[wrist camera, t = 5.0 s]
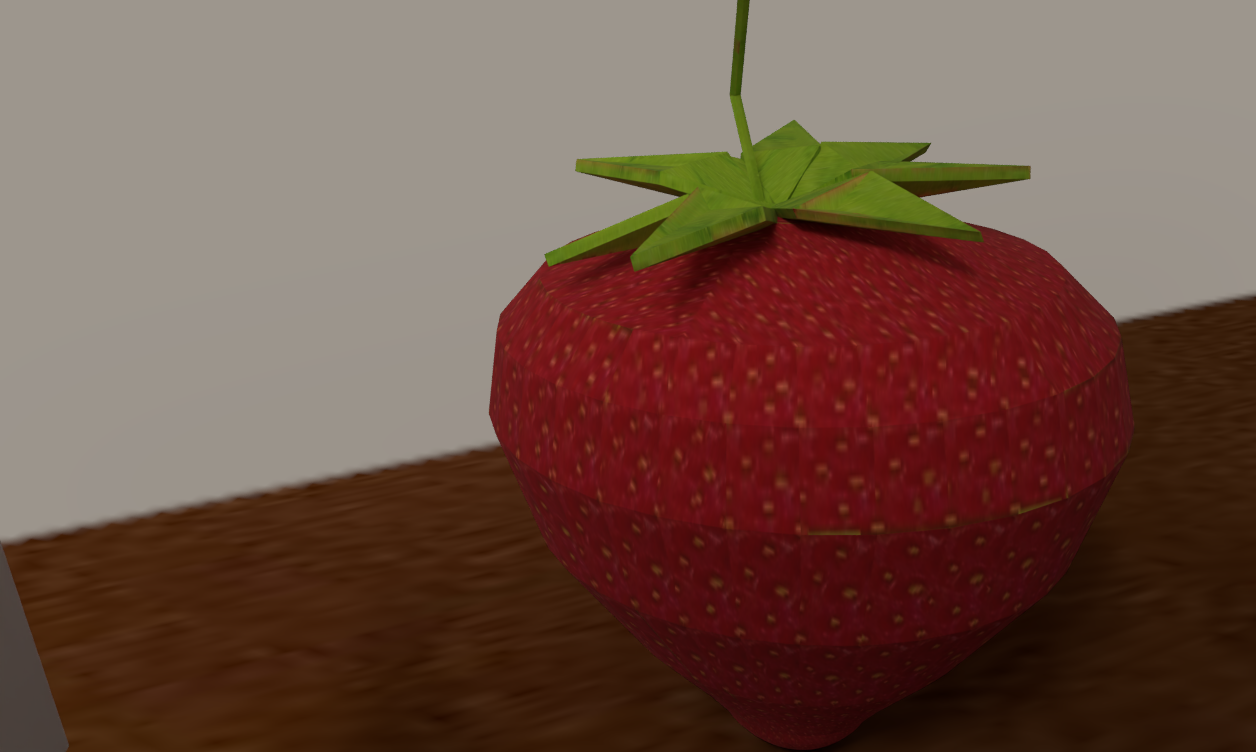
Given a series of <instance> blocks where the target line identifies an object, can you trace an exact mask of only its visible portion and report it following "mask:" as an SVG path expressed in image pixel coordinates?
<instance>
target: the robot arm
mask: <svg viewBox="0 0 1256 752" xmlns="http://www.w3.org/2000/svg"><path fill="white" fill-rule="evenodd" d="M68 746H69V745H68V742H67V739H66V736H65V733H64V730H63V727H62V724H61V721H60V718H59V715H58V712H57V709H56V706H55V703H54V700H53V697H52V694H51V691H50V688H49V685H48V682H47V679H46V676H45V673H44V670H43V667H42V664H41V661H40V658H39V655H38V652H37V649H36V646H35V643H34V640H33V637H32V634H31V631H30V628H29V625H28V622H27V620H26V617H25V614H24V611H23V608H22V605H21V602H20V599H19V596H18V593H17V590H16V587H15V584H14V581H13V578H12V575H11V572H10V569H9V566H8V563H7V560H6V557H5V554H4V551H3V548H2V545H1V542H0V752H65V751H66V750H67V748H68Z"/></svg>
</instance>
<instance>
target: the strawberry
mask: <svg viewBox="0 0 1256 752" xmlns="http://www.w3.org/2000/svg"><path fill="white" fill-rule="evenodd" d="M749 1H750V0H738V1H737V13H736V25H735V38H734V50H733V63H732V75H731V87H730V99H731V103H732V107H733V112H734V116H735V121H736V125H737V128H738V134H739V138H740V142H741V147H742V151H743V152H742V153H741V159H739V158H735V157H731V156H730V155H729V153H728V152H714V153H713V152H711V153H692V154H673V155H672V154H671V155H653V156H652V155H651V156H633V157H632V156H631V157H611V158H591V159H577V161H576V170H575V171H577V172H581V173H585V174H589V175H593V176H597V177H601V178H605V179H609V180H613V181H617V182H622V183H626V184H630V185H634V186H638V187H642V188H646V189H650V190H655V191H658V192H662V193H666V194H671V195H674V196H678V197H679V198H677V199H674V200H672V201H670V202H667V203H665V204H663V205H660V206H658V207H655V208H653V209H650V210H648V211H646V212H643V213H641V214H639V215H636V216H634V217H632V218H629V219H627V220H625V221H622V222H620V223H618V224H615V225H613V226H610V227H608V228H605V229H603V230H601V231H597V232H594V233H592V234H589V235H587V236H584V237H582V238H579V239H577V240H574V241H572V242H570V243H568V244H567V245H565V246H563V247H561V248H558V249H556V250H553V251H551V252H549V253H546V254H545V258H546V261H545V262H544V263H543V265H542V266H541V267H540V268H539V269H538V270H537V272H536V273H535V274H534V275H533V276H532V277H531V279H530V280H529V281H528V282H527V283H526V285H525V286H524V287H523V288H522V289H521V291H520V292H519V293H518V294H517V295H516V296H515V297H514V299H513V300H512V301H511V302H510V303H509V304H508V306H507V307H506V308H505V309H504V311H503V312H502V313H501V314H500V318H499V323H498V328H497V334H496V344H495V354H494V365H493V375H492V386H491V396H490V406H489V415H490V418H491V421H492V424H493V427H494V430H495V433H496V435H497V438H498V440H499V442H500V444H501V446H502V448H503V451H504V453H505V455H506V457H507V459H508V461H509V464H510V466H511V468H512V470H513V472H514V475H515V477H516V479H517V481H518V483H519V485H520V488H521V490H522V492H523V494H524V496H525V498H526V501H527V503H528V505H529V507H530V509H531V512H532V514H533V516H534V518H535V520H536V522H537V525H538V527H539V529H540V531H541V533H542V535H543V538H544V540H545V542H546V544H547V546H548V548H549V549H550V550H551V551H552V553H553V554H554V555H555V556H556V557H557V559H558V560H559V561H560V562H561V563H562V564H563V566H564V567H565V568H566V569H567V570H568V571H569V572H570V573H571V574H572V575H573V576H574V577H575V578H576V579H577V580H578V581H579V582H580V583H581V584H582V585H583V586H584V587H585V588H586V589H587V590H588V591H589V592H590V593H591V594H592V595H593V596H594V597H595V598H596V599H597V600H598V601H599V602H600V603H601V604H602V605H603V606H604V607H605V608H606V609H607V610H608V611H609V612H610V613H611V614H612V615H614V616H615V617H616V618H617V619H618V620H619V621H620V622H621V623H622V624H623V625H624V626H625V627H626V628H627V629H628V630H629V631H630V632H631V633H632V634H633V635H634V636H635V637H636V638H637V639H638V640H639V641H640V642H641V643H642V644H643V645H644V646H645V647H646V648H647V649H648V650H649V651H650V652H651V653H652V654H653V655H654V656H656V657H657V658H658V659H660V660H661V661H662V662H664V663H665V664H667V665H668V666H669V667H671V668H672V669H673V670H675V671H676V672H678V673H679V674H680V675H682V676H683V677H685V678H686V679H687V680H689V681H690V682H692V683H693V684H695V685H696V686H697V687H699V688H700V689H702V690H703V691H705V692H706V693H707V694H709V695H710V696H712V697H713V698H714V699H715V700H716V701H718V702H719V703H720V704H721V705H722V706H724V707H725V708H726V709H727V710H728V711H729V712H730V713H731V715H732V716H733V717H734V718H735V719H736V720H737V721H738V722H739V723H740V724H741V725H742V726H743V727H745V728H746V729H747V730H748V731H750V732H751V733H752V734H754V735H755V736H757V737H758V738H760V739H762V740H764V741H766V742H768V743H771V744H773V745H776V746H778V747H782V748H786V749H793V750H812V749H817V748H822V747H825V746H829V745H831V744H834V743H836V742H838V741H840V740H841V739H843V738H845V737H846V736H848V735H849V734H851V733H852V732H854V731H855V730H856V729H857V728H858V727H859V726H860V724H861V723H862V722H863V721H865V720H866V719H868V718H869V717H871V716H872V715H874V714H875V713H877V712H878V711H880V710H882V709H884V708H886V707H888V706H890V705H892V704H893V703H895V702H897V701H899V700H901V699H903V698H905V697H907V696H909V695H911V694H912V693H914V692H916V691H918V690H920V689H922V688H924V687H926V686H927V685H929V684H931V683H932V682H934V681H936V680H937V679H939V678H940V677H942V676H944V675H945V674H947V673H948V672H949V671H950V670H952V669H953V668H954V667H956V666H957V665H958V664H959V663H961V662H962V661H963V660H964V659H966V658H967V657H968V656H969V655H971V654H972V653H973V652H974V651H976V650H977V649H978V648H980V647H981V646H982V645H983V644H985V643H986V642H987V641H988V640H990V639H991V638H992V637H993V636H995V635H996V634H997V633H999V632H1000V631H1001V630H1002V629H1004V628H1005V627H1006V626H1007V625H1009V624H1010V623H1011V622H1012V621H1014V620H1015V619H1016V618H1018V617H1019V616H1020V615H1021V614H1023V613H1024V612H1025V611H1026V610H1028V609H1029V608H1030V607H1031V606H1033V605H1034V604H1035V603H1036V602H1038V601H1039V600H1040V599H1042V598H1043V597H1044V596H1045V595H1047V594H1048V592H1049V591H1050V590H1051V589H1052V588H1053V587H1054V586H1055V585H1056V583H1057V582H1058V581H1059V580H1060V579H1061V578H1062V577H1063V576H1064V574H1065V573H1066V572H1067V570H1068V568H1069V566H1070V565H1071V563H1072V561H1073V559H1074V557H1075V555H1076V553H1077V551H1078V549H1079V547H1080V545H1081V543H1082V541H1083V539H1084V537H1085V536H1086V534H1087V532H1088V530H1089V528H1090V526H1091V524H1092V522H1093V520H1094V518H1095V516H1096V514H1097V512H1098V510H1099V508H1100V507H1101V505H1102V503H1103V501H1104V499H1105V497H1106V495H1107V493H1108V491H1109V489H1110V487H1111V485H1112V483H1113V481H1114V479H1115V478H1116V476H1117V474H1118V472H1119V470H1120V468H1121V466H1122V464H1123V462H1124V460H1125V458H1126V456H1127V454H1128V452H1129V448H1130V444H1131V441H1132V437H1133V433H1134V429H1135V428H1134V421H1133V414H1132V407H1131V400H1130V393H1129V386H1128V379H1127V372H1126V365H1125V358H1124V351H1123V344H1122V337H1121V335H1120V332H1119V329H1118V327H1117V324H1116V321H1115V319H1114V317H1113V316H1112V315H1110V313H1109V312H1108V311H1107V310H1105V308H1104V307H1103V306H1102V305H1101V304H1099V303H1098V301H1097V300H1096V299H1095V298H1094V297H1093V296H1092V295H1091V294H1090V293H1089V292H1088V291H1087V290H1086V289H1085V288H1084V287H1083V286H1082V285H1081V284H1080V283H1079V282H1078V281H1077V280H1076V279H1074V277H1073V276H1072V275H1071V274H1070V273H1069V272H1068V271H1067V270H1066V269H1065V268H1064V267H1063V266H1062V265H1061V264H1060V263H1059V262H1058V261H1057V260H1055V259H1054V258H1053V257H1052V256H1051V255H1050V254H1049V253H1048V252H1047V251H1045V250H1043V249H1041V248H1039V247H1037V246H1035V245H1033V244H1031V243H1029V242H1028V241H1026V240H1024V239H1021V238H1018V237H1015V236H1012V235H1009V234H1006V233H1003V232H1000V231H997V230H995V229H991V228H987V227H982V226H978V225H974V224H970V223H966V222H962V221H960V220H958V219H956V218H955V217H953V216H951V215H949V214H948V213H946V212H944V211H942V210H940V209H939V208H937V207H935V206H933V205H931V204H929V203H928V202H926V201H924V200H923V199H921V198H919V197H925V196H931V195H937V194H943V193H949V192H955V191H961V190H967V189H973V188H979V187H984V186H990V185H997V184H1003V183H1008V182H1014V181H1020V180H1026V179H1030V168H1031V167H1030V166H1017V165H987V164H959V163H931V162H930V163H929V162H910V161H912V160H914V159H915V158H917V157H919V156H920V155H922V154H924V153H925V152H926V151H927V149H928V148H929V146H930V144H931V143H891V142H890V143H889V142H887V143H886V142H821V144H820V143H819V142H817V141H816V140H815V139H814V138H813V137H812V136H811V135H810V134H809V133H808V132H807V131H806V130H805V129H804V128H803V127H802V126H800V125H799V124H798V123H797V122H796V121H795V120H793V121H791V122H790V123H788V124H787V125H785V126H783V127H782V128H780V129H779V130H777V131H775V132H774V133H772V134H771V135H769V136H767V137H766V138H764V139H763V140H761V141H760V142H758V143H756V144H755V145H753V146H752V143H751V139H750V134H749V130H748V125H747V121H746V117H745V113H744V108H743V104H742V99H741V85H742V73H743V64H744V53H745V43H746V33H747V22H748V12H749Z"/></svg>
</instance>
